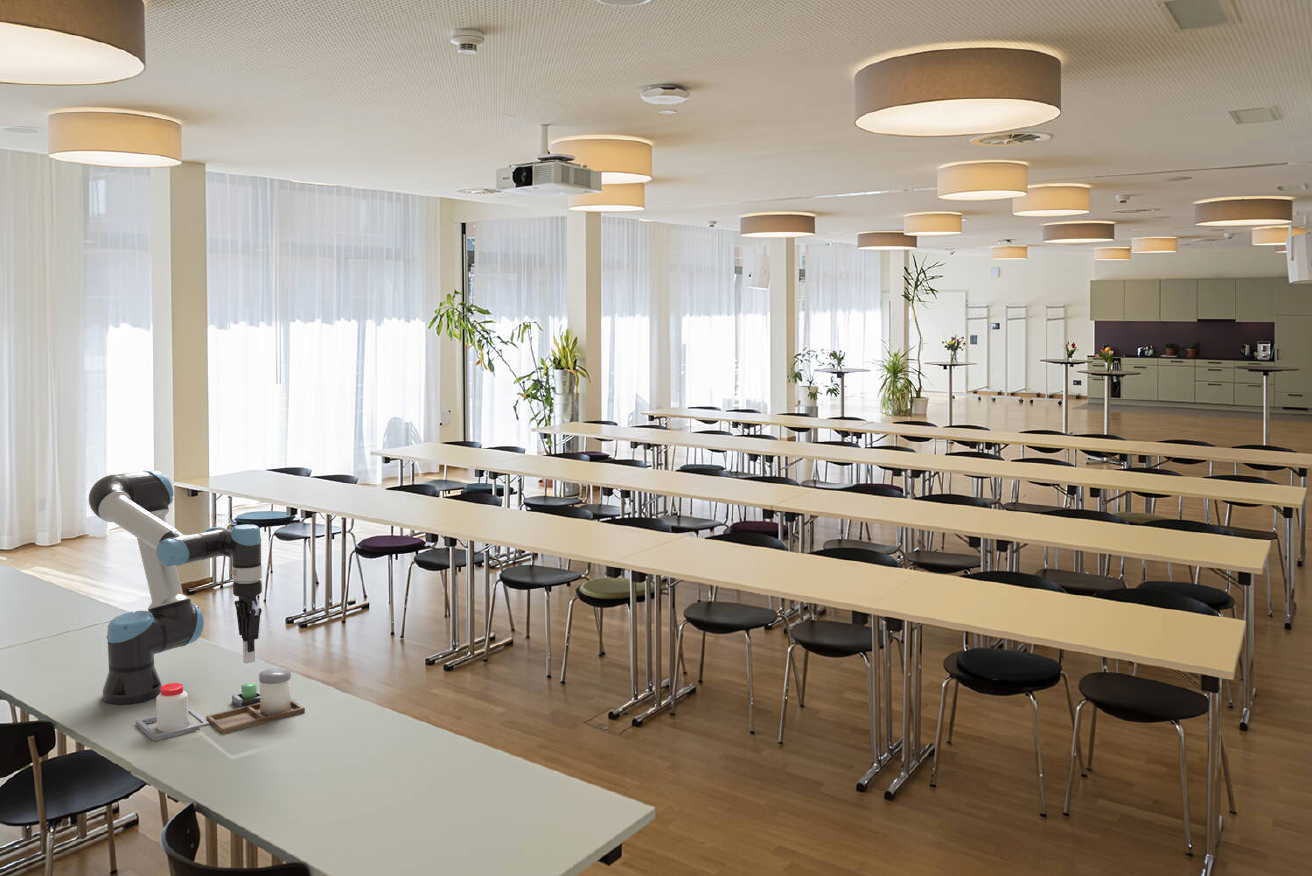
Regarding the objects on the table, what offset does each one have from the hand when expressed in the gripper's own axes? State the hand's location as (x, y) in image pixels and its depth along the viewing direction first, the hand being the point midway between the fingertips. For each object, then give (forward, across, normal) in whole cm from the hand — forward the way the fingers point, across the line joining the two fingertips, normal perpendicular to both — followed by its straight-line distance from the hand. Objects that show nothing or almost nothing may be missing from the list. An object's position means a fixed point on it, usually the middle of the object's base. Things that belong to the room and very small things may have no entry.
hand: (249, 661), depth 281 cm
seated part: (+12, +10, +3) cm, 16 cm away
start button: (+11, 0, 0) cm, 11 cm away
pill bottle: (+13, +1, -21) cm, 25 cm away
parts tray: (+13, +1, -21) cm, 25 cm away
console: (+13, 0, 0) cm, 13 cm away
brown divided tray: (+13, +10, -2) cm, 17 cm away
